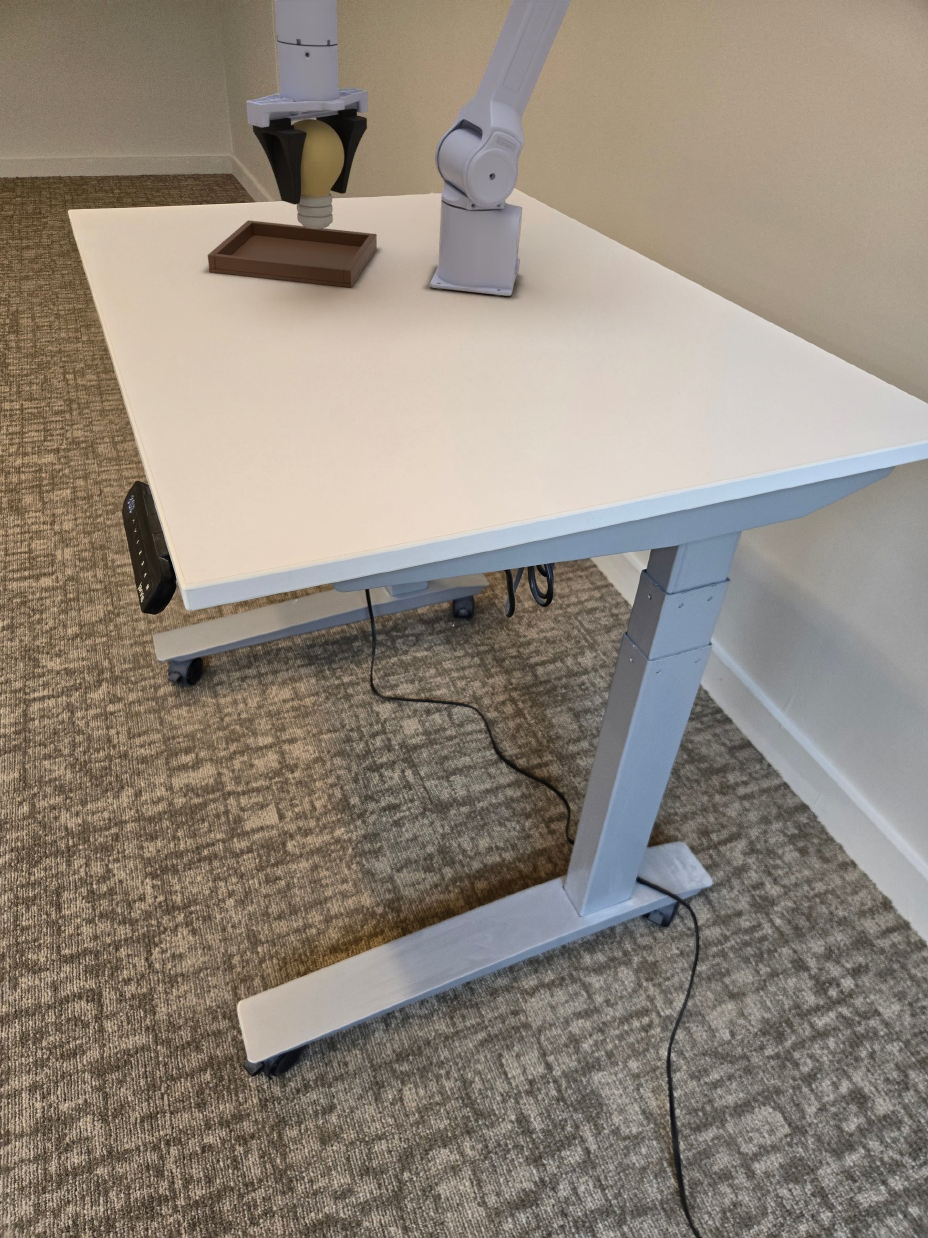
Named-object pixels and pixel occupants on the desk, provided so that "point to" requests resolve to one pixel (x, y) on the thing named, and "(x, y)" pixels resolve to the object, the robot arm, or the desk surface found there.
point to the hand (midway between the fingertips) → (314, 196)
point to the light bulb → (318, 172)
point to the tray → (294, 253)
